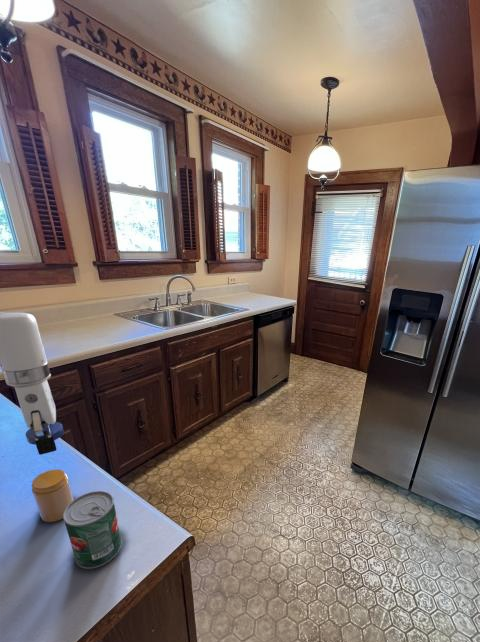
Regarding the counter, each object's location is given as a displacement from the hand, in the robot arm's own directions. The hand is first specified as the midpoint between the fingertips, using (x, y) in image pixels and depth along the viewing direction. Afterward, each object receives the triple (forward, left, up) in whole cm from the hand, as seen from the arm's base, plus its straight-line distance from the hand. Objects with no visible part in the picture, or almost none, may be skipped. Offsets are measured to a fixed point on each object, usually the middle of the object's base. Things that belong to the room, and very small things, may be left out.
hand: (48, 442), depth 72 cm
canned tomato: (+6, -26, -11) cm, 29 cm away
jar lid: (0, 0, +3) cm, 3 cm away
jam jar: (0, -11, -11) cm, 15 cm away
